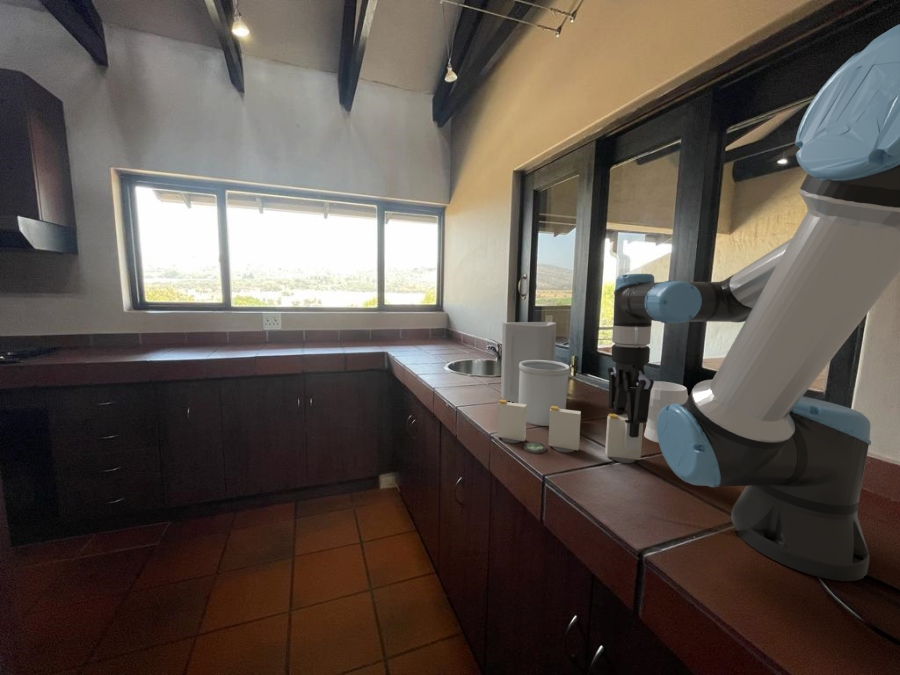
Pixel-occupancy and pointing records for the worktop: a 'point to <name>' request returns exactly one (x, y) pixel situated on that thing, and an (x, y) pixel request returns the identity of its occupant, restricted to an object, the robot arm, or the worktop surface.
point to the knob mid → (564, 429)
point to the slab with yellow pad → (620, 440)
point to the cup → (662, 404)
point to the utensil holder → (542, 388)
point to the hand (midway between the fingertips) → (624, 445)
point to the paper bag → (523, 351)
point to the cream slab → (511, 421)
